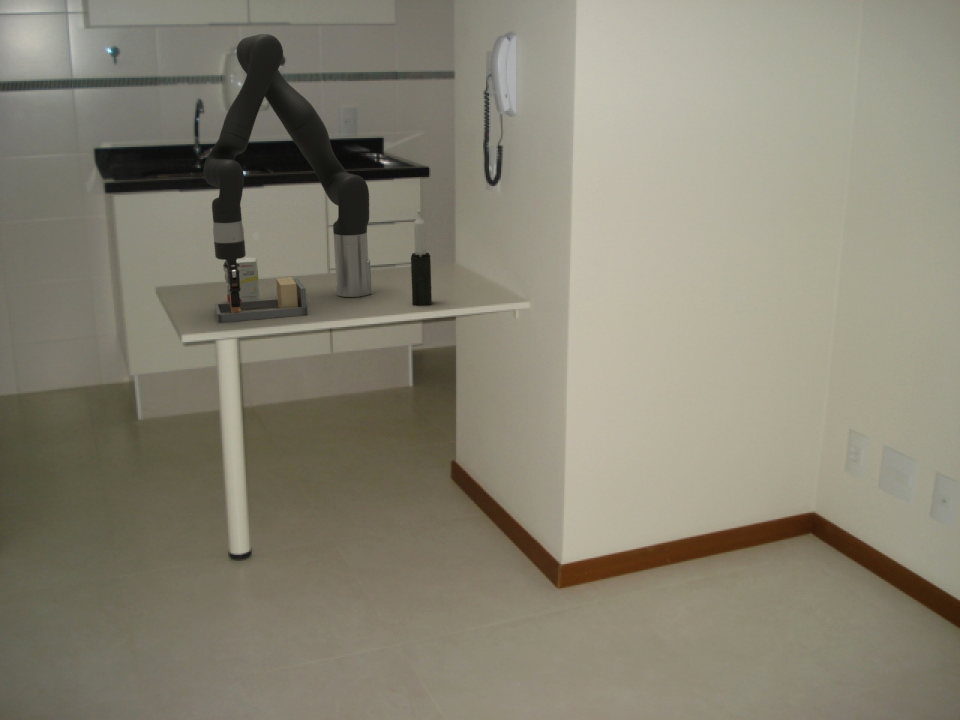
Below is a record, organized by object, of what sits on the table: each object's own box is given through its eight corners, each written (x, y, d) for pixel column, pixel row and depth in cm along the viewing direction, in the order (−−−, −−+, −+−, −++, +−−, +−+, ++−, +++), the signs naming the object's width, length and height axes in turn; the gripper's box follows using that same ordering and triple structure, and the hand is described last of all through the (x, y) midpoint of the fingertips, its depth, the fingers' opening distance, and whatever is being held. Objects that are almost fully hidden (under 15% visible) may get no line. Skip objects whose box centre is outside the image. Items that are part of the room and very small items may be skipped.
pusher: (237, 309, 264) (235, 279, 261) (241, 318, 254) (239, 287, 252) (230, 309, 263) (227, 280, 261) (233, 319, 254) (231, 288, 251)
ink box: (227, 305, 270) (223, 262, 266) (228, 301, 274) (224, 258, 271) (259, 303, 271) (256, 260, 268) (260, 299, 276) (256, 257, 272)
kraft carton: (293, 306, 268) (291, 277, 265) (298, 314, 259) (296, 283, 257) (278, 307, 266) (276, 278, 264) (282, 315, 258) (280, 285, 256)
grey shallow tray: (299, 303, 270) (297, 278, 268) (307, 314, 258) (305, 288, 256) (214, 311, 263) (212, 285, 261) (218, 322, 251) (216, 295, 249)
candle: (431, 300, 271) (429, 208, 264) (431, 305, 266) (428, 211, 259) (412, 301, 271) (409, 208, 264) (412, 305, 266) (409, 211, 259)
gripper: (247, 242, 248) (252, 309, 253) (241, 233, 261) (246, 297, 266) (216, 244, 245) (222, 312, 250) (211, 235, 259) (217, 299, 263)
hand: (234, 304), depth 258 cm, fingers closed on pusher, 5 cm apart
